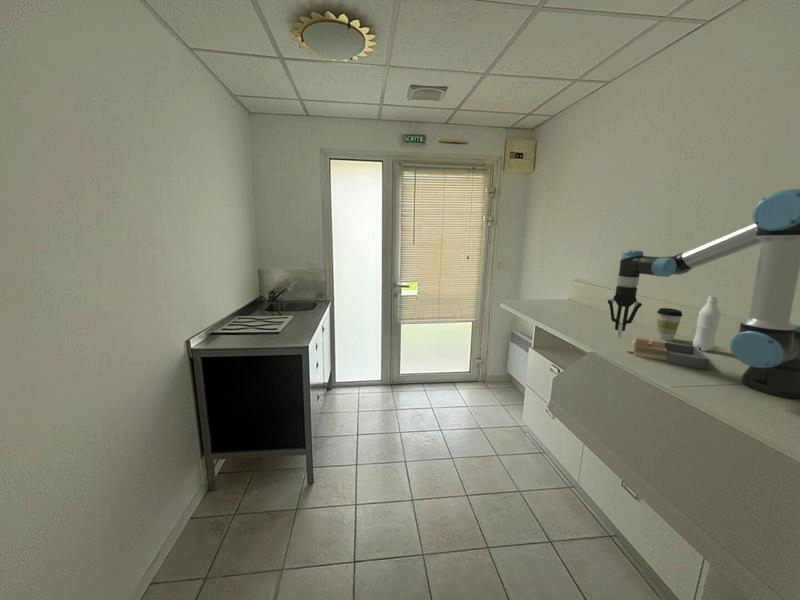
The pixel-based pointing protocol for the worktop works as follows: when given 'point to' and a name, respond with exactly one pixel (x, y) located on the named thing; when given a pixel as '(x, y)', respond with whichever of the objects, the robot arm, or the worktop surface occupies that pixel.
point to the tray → (686, 355)
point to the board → (649, 351)
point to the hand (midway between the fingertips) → (618, 337)
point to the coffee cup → (667, 323)
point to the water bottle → (707, 325)
